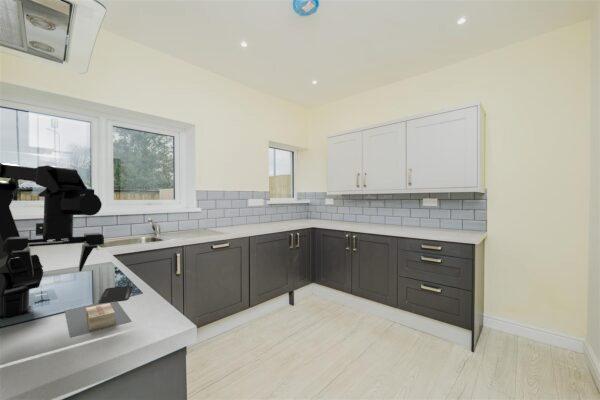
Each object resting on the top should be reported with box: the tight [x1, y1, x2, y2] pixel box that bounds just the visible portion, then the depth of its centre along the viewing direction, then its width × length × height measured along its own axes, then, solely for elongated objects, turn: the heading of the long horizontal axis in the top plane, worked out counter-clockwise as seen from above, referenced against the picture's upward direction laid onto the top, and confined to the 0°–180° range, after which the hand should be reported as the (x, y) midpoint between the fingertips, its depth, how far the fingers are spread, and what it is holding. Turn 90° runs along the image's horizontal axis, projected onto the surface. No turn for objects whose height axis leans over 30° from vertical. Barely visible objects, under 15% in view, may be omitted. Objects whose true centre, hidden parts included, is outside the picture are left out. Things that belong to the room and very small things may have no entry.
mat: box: [64, 301, 133, 338], centre depth 70 cm, size 20×12×1 cm, turn 45°
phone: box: [97, 285, 133, 304], centre depth 86 cm, size 8×1×15 cm
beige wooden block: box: [86, 303, 115, 331], centre depth 67 cm, size 8×5×3 cm, turn 44°
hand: (57, 274), depth 68 cm, fingers open, 9 cm apart
